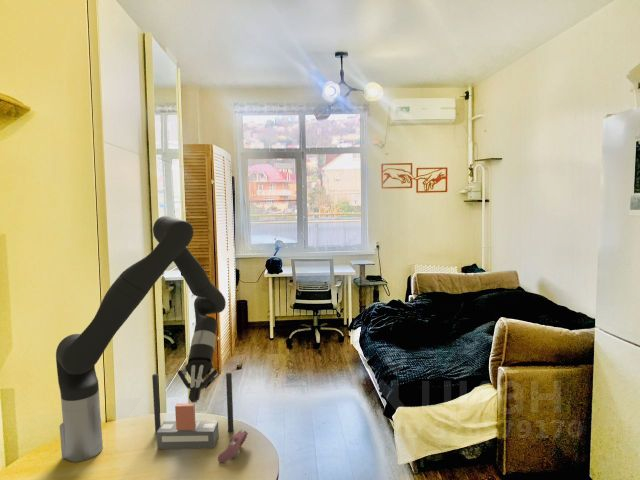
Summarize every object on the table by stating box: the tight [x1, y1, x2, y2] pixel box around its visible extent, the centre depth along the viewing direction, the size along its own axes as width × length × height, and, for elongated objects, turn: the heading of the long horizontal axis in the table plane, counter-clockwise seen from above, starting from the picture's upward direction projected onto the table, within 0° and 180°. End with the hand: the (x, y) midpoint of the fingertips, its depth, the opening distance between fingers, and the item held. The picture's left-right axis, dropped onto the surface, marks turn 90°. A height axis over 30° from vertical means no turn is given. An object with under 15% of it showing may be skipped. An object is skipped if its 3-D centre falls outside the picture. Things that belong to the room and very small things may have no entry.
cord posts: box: [151, 372, 235, 434], centre depth 132 cm, size 24×2×18 cm, turn 90°
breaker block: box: [155, 420, 220, 450], centre depth 126 cm, size 16×6×5 cm, turn 90°
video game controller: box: [217, 429, 249, 463], centre depth 121 cm, size 10×5×7 cm, turn 169°
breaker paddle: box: [174, 402, 196, 430], centre depth 124 cm, size 5×2×7 cm, turn 90°
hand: (193, 401), depth 131 cm, fingers closed
